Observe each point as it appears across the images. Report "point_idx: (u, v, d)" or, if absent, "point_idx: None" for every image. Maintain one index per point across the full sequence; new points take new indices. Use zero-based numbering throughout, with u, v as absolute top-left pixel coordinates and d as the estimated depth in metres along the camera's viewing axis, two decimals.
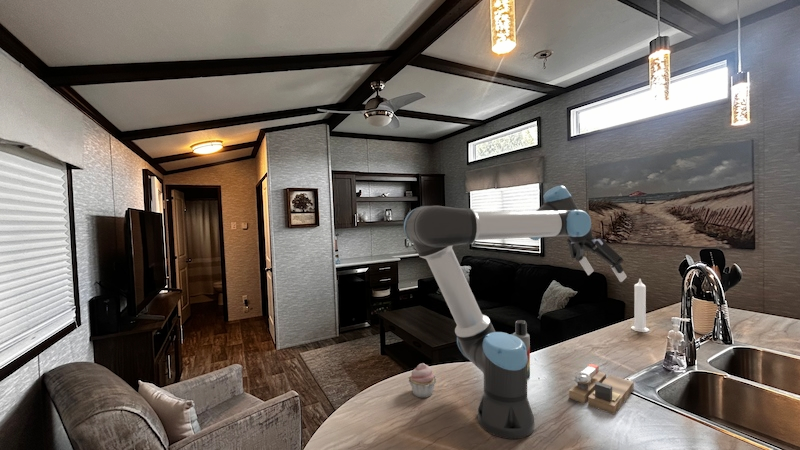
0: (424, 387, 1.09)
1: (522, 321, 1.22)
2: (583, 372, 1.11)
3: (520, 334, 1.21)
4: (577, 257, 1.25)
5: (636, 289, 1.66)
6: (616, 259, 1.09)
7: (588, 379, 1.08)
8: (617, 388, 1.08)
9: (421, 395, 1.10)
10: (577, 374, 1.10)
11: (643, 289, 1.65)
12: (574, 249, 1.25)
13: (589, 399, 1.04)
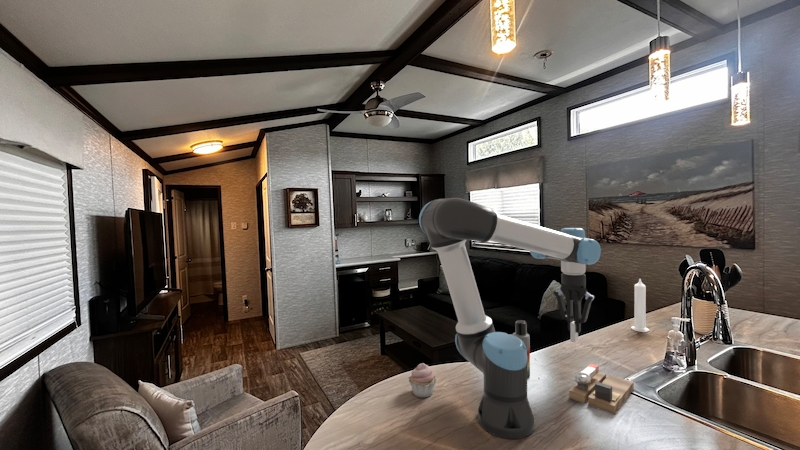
0: (424, 387, 1.09)
1: (522, 321, 1.22)
2: (583, 372, 1.11)
3: (520, 334, 1.21)
4: (568, 316, 1.19)
5: (636, 289, 1.66)
6: (585, 318, 1.16)
7: (588, 379, 1.08)
8: (617, 388, 1.08)
9: (421, 395, 1.10)
10: (577, 374, 1.10)
11: (643, 289, 1.65)
12: (563, 305, 1.21)
13: (589, 399, 1.04)
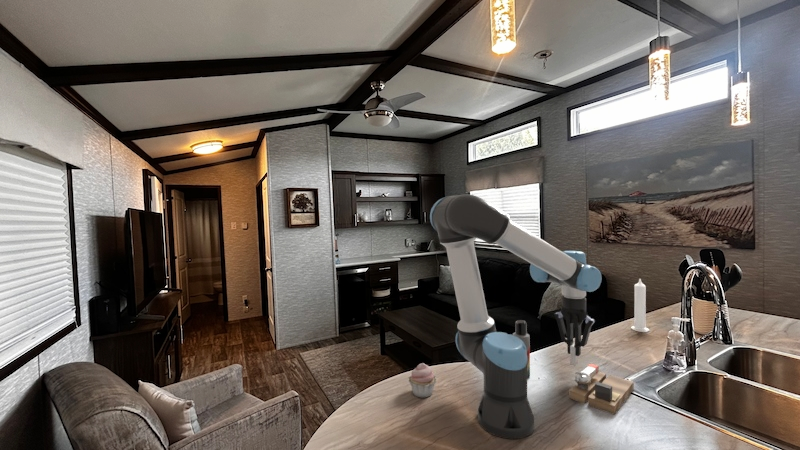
0: (424, 387, 1.09)
1: (522, 321, 1.22)
2: (583, 372, 1.11)
3: (520, 334, 1.21)
4: (568, 339, 1.19)
5: (636, 289, 1.66)
6: (585, 342, 1.16)
7: (588, 379, 1.08)
8: (617, 388, 1.08)
9: (421, 395, 1.10)
10: (577, 374, 1.10)
11: (643, 289, 1.65)
12: (563, 328, 1.21)
13: (589, 399, 1.04)
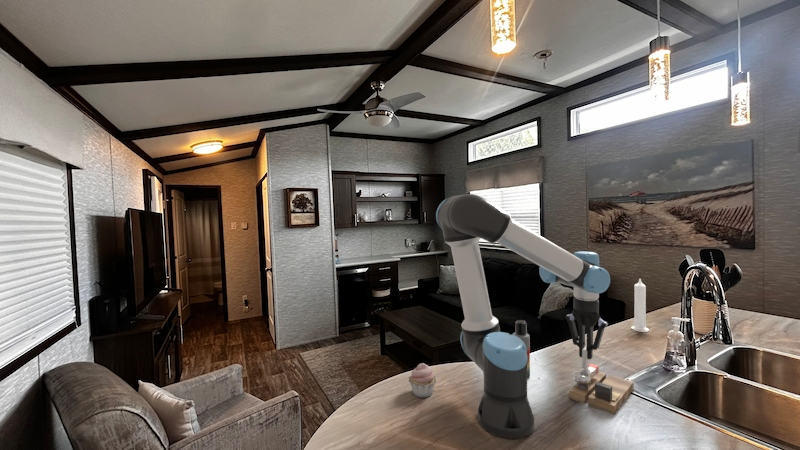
0: (424, 387, 1.09)
1: (522, 321, 1.22)
2: (583, 372, 1.11)
3: (520, 334, 1.21)
4: (580, 342, 1.16)
5: (636, 289, 1.66)
6: (598, 345, 1.13)
7: (588, 379, 1.08)
8: (617, 388, 1.08)
9: (421, 395, 1.10)
10: (577, 374, 1.10)
11: (643, 289, 1.65)
12: (574, 330, 1.18)
13: (589, 399, 1.04)
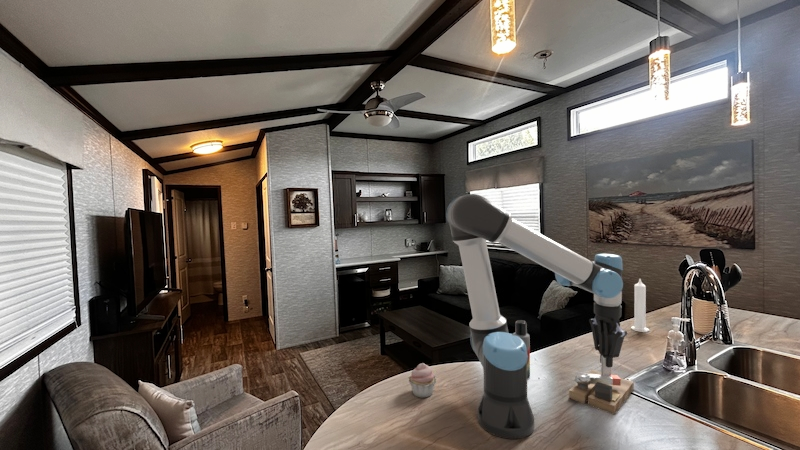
0: (424, 387, 1.09)
1: (522, 321, 1.22)
2: (588, 374, 1.10)
3: (520, 334, 1.21)
4: (600, 348, 1.11)
5: (636, 289, 1.66)
6: (615, 353, 1.06)
7: (582, 379, 1.08)
8: (617, 388, 1.08)
9: (421, 395, 1.10)
10: (579, 373, 1.11)
11: (643, 289, 1.65)
12: (597, 335, 1.13)
13: (589, 399, 1.04)
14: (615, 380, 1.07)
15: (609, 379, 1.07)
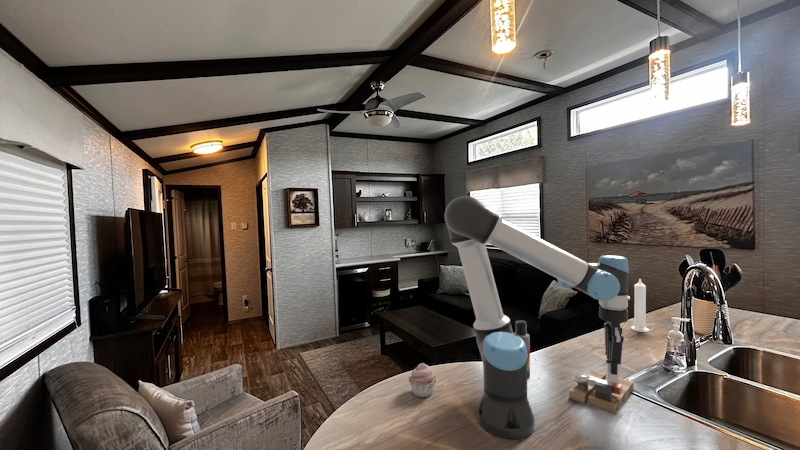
0: (424, 387, 1.09)
1: (522, 321, 1.22)
2: (589, 376, 1.09)
3: (520, 334, 1.21)
4: (607, 353, 1.07)
5: (636, 289, 1.66)
6: (614, 359, 1.02)
7: (577, 377, 1.09)
8: None
9: (421, 395, 1.10)
10: (582, 373, 1.11)
11: (643, 289, 1.65)
12: None
13: (589, 399, 1.04)
14: (614, 388, 1.02)
15: None
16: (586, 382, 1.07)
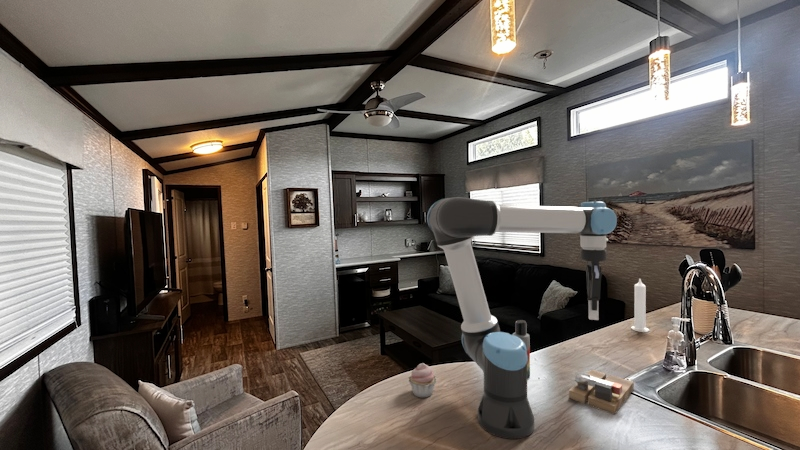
0: (424, 387, 1.09)
1: (522, 321, 1.22)
2: (589, 376, 1.09)
3: (520, 334, 1.21)
4: (588, 292, 1.16)
5: (636, 289, 1.66)
6: (594, 295, 1.11)
7: (577, 377, 1.09)
8: None
9: (421, 395, 1.10)
10: (582, 373, 1.11)
11: (643, 289, 1.65)
12: None
13: (589, 399, 1.04)
14: (614, 388, 1.02)
15: None
16: (586, 382, 1.07)
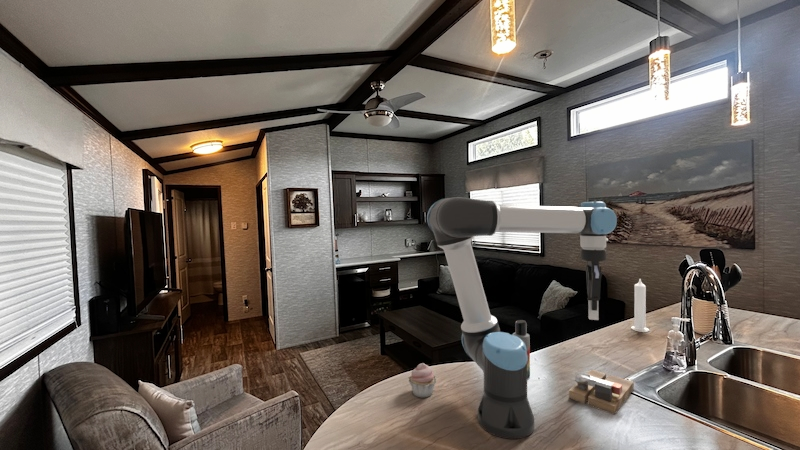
0: (424, 387, 1.09)
1: (522, 321, 1.22)
2: (589, 376, 1.09)
3: (520, 334, 1.21)
4: (588, 292, 1.16)
5: (636, 289, 1.66)
6: (594, 295, 1.11)
7: (577, 377, 1.09)
8: None
9: (421, 395, 1.10)
10: (582, 373, 1.11)
11: (643, 289, 1.65)
12: None
13: (589, 399, 1.04)
14: (614, 388, 1.02)
15: None
16: (586, 382, 1.07)
